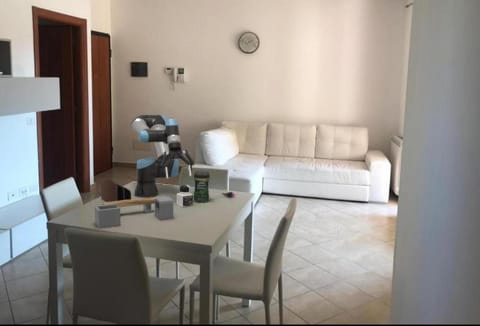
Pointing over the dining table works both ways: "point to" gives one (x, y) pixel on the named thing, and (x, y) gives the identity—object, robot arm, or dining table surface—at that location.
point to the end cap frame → (111, 213)
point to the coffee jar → (201, 186)
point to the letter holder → (113, 191)
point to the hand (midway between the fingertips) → (179, 177)
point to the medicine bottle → (184, 197)
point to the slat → (132, 202)
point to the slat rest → (147, 208)
